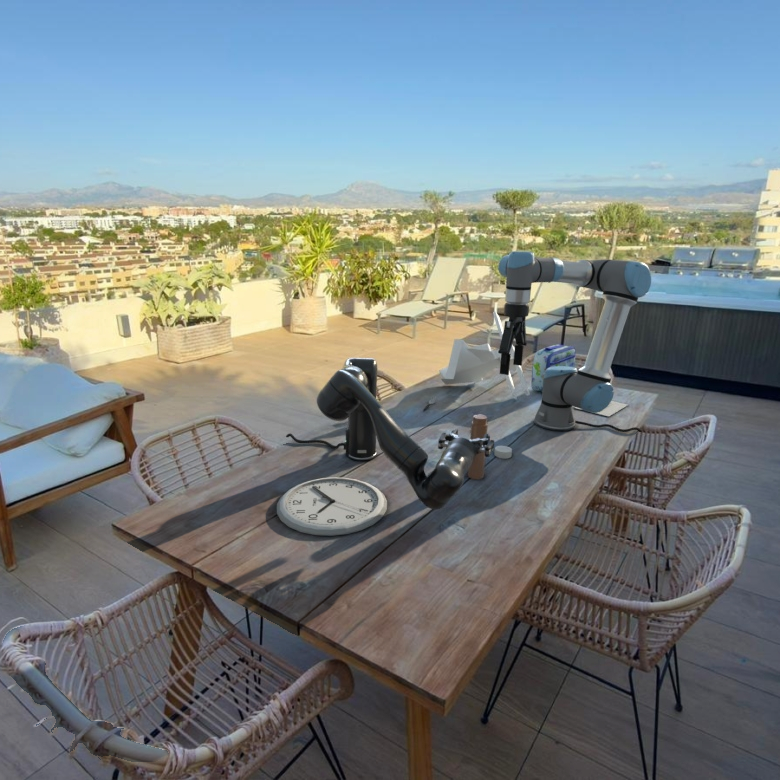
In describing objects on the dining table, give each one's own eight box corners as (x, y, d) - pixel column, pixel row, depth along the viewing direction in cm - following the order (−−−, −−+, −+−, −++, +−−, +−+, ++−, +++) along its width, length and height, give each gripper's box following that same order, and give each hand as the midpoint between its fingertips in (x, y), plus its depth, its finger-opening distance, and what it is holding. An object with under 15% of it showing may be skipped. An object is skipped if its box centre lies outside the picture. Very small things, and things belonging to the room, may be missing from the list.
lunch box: (547, 397, 237) (552, 352, 231) (526, 391, 245) (531, 348, 238) (574, 386, 255) (580, 344, 249) (554, 381, 262) (559, 340, 256)
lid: (495, 450, 180) (496, 444, 179) (512, 453, 178) (513, 447, 177) (493, 457, 175) (493, 450, 174) (510, 459, 173) (510, 453, 172)
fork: (420, 411, 216) (420, 406, 216) (430, 400, 230) (431, 395, 230) (426, 412, 215) (426, 407, 215) (436, 401, 230) (436, 396, 229)
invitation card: (608, 416, 214) (573, 407, 224) (608, 416, 214) (573, 408, 224) (628, 404, 229) (594, 396, 238) (628, 405, 229) (594, 397, 238)
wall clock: (392, 527, 129) (268, 531, 127) (391, 533, 130) (269, 537, 127) (383, 473, 158) (282, 475, 155) (383, 478, 158) (282, 480, 156)
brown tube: (486, 478, 160) (491, 418, 154) (471, 480, 159) (475, 420, 153) (479, 471, 164) (484, 413, 158) (465, 473, 163) (469, 414, 157)
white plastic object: (461, 429, 252) (437, 405, 227) (444, 352, 274) (420, 323, 250) (535, 404, 240) (518, 377, 215) (510, 326, 262) (492, 293, 237)
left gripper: (429, 466, 135) (446, 442, 149) (484, 476, 130) (496, 450, 144) (431, 439, 132) (447, 418, 147) (487, 448, 128) (498, 425, 142)
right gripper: (517, 297, 173) (511, 359, 180) (491, 306, 153) (486, 376, 159) (540, 299, 170) (533, 363, 176) (516, 309, 149) (510, 380, 155)
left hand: (471, 434), depth 146 cm, fingers open, 8 cm apart
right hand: (511, 369), depth 168 cm, fingers open, 13 cm apart
